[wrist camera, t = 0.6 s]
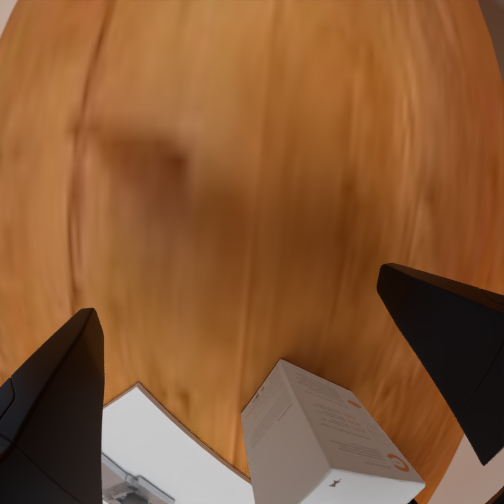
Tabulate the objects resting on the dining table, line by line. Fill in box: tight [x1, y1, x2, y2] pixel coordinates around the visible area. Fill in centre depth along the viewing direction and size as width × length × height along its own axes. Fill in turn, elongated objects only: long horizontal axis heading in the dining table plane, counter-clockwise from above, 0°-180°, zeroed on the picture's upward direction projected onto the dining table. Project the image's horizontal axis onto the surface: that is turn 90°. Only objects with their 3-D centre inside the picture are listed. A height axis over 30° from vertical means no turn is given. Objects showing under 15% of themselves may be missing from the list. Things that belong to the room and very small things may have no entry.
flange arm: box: [102, 454, 175, 504], centre depth 19 cm, size 14×6×6 cm, turn 37°
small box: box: [241, 359, 426, 504], centre depth 18 cm, size 8×6×13 cm
